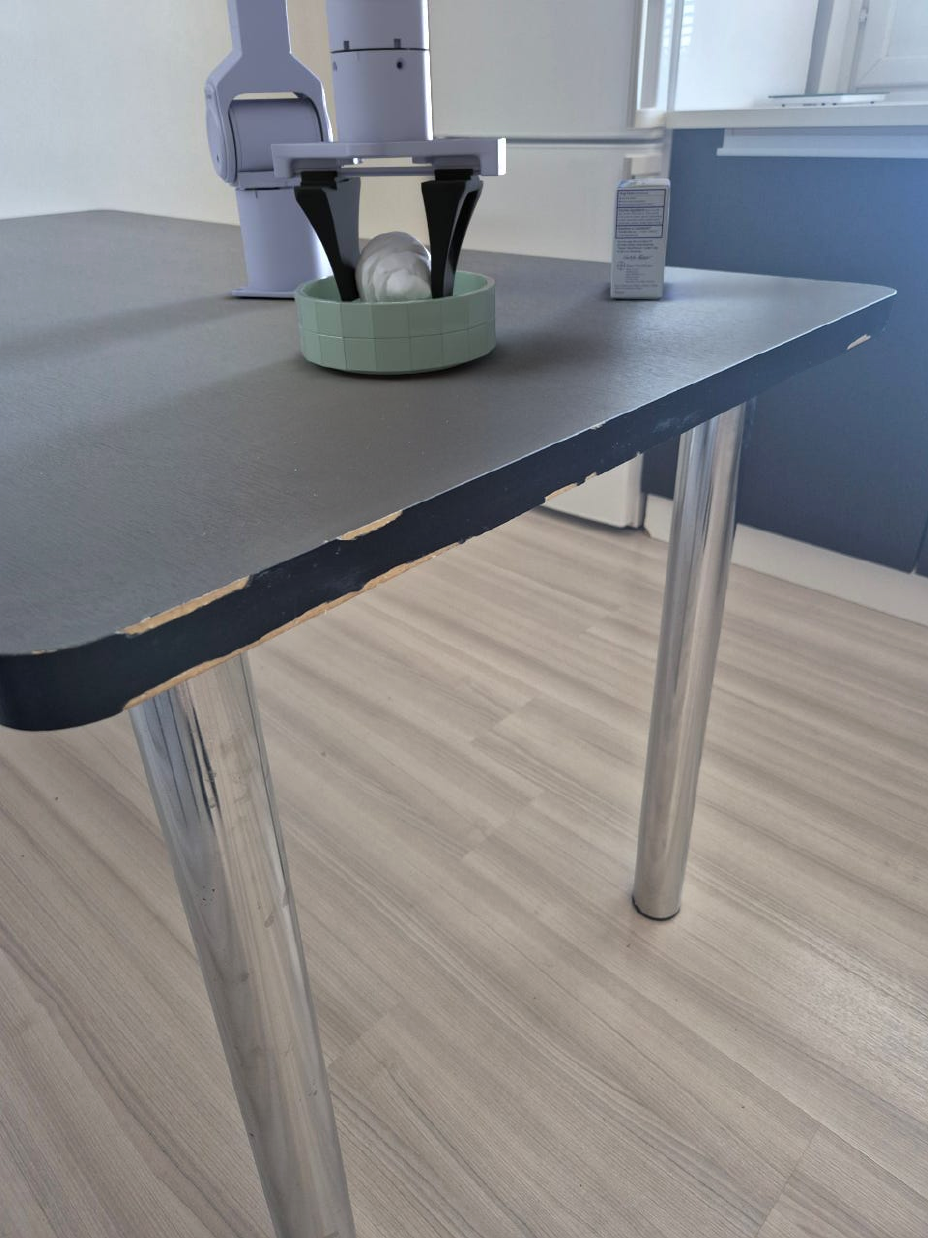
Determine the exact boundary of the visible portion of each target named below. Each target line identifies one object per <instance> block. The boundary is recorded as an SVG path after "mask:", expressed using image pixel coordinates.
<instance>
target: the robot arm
mask: <svg viewBox="0 0 928 1238" xmlns="http://www.w3.org/2000/svg"><path fill="white" fill-rule="evenodd" d="M324 1H325V12H326V23H327V35H328V44H329V46H328V47H329V53H330V56H329V57H330V65H331V78H332V89H333V98H334V110H335V123H336V132H337V133H336V134H337V140H335V141H333V132H332V125H331V121H330V117H329V114H328V111H327V105H326V96H325V88H324V86H323V83H322V81H321V80H320V78H319V76H317V75H316V74H315V73H314V72H313V71H312V70H311V69H310V68H309V67H307V65H305V64H304V63H303V62H301V61H300V60H299V59H298V58H297V57H295V56H294V54H292V47H291V38H290V27H289V17H288V5H287V0H226V6H227V7H226V8H227V14H228V23H229V30H230V38H231V46H232V49H231V51H230V52H229V53H228V55H227V56H225V58H224V59H223V60H221V62H219V64H218V65H217V66H215V68H214V69H213V70H212V71H211V72H210V73H209V75H208V76H207V78H206V80H205V82H204V83H205V86H204V89H203V93H204V101H205V126H206V128H205V129H206V137H207V143H208V149H209V154H210V158H211V161H212V166H213V168H214V171H215V173H216V175H217V176H218V177H219V178H221V180H222V181H223V182H224V183H225V184H228V185H229V187H233V188H235V189H234V193H235V200H236V207H237V213H238V219H239V227H240V232H241V233H240V234H241V239H242V246H243V252H244V253H243V254H244V260H245V266H246V272H247V280H248V284H246V285H244V286H240V287H238V288H235V289H231V296H232V297H251V298H284V299H285V298H287V299H288V298H289V299H290V298H291V299H295V297H294V290H295V289H296V288H297V286H298V285H300V284H303V283H305V282H308V281H310V280H313V279H318V278H322V277H326V276H331V275H334V277H335V281H336V284H337V287H338V290H339V294H340V297H341V301H343V302H352V301H354V300H356V299H358V298H360V296H359V293H358V291H357V287H356V280H355V270H356V265H357V262H358V259H359V256H360V254H361V250H360V240H359V239H360V237H359V236H360V233H359V232H360V231H359V229H360V228H359V225H360V200H361V188H362V187H361V186H362V179H361V178H366V177H367V178H368V177H374V178H375V177H376V178H377V177H434V179H430V180H427V181H426V180H425V181H422V182H420V191H421V195H422V200H423V206H424V212H425V219H426V223H427V230H428V232H427V233H428V239H429V240H428V241H429V247H430V248H429V249H430V251H429V252H430V255H431V292H432V299H437V298H443V297H449V296H453V288H454V281H455V275H456V270H458V264H459V259H460V255H461V251H462V247H463V244H464V240H465V237H466V234H467V230H468V228H469V225H470V222H471V221H472V217H473V215H474V212H475V210H476V207H477V205H478V202H479V201H480V198H481V196H482V192H483V189H484V183H485V182H484V180H481V178H480V176H481V177H498V176H502V175H506V173H507V171H506V170H507V169H506V168H507V165H506V162H507V161H506V157H507V156H506V155H507V153H506V151H507V149H506V148H507V147H506V145H507V144H506V143H507V142H506V137H466V138H465V137H460V138H458V137H457V138H456V137H455V138H454V137H453V138H433V118H432V117H433V115H432V94H431V93H432V92H431V91H432V90H431V68H430V65H431V64H430V37H429V17H428V16H429V15H428V13H429V12H428V0H324ZM271 93H272V94H273V93H277V94H278V93H292V94H293V95H295V96H296V97H283V98H282V97H281V98H280V97H279V98H243V99H242V98H241V99H237V98H236V97H238V96H239V95H244V94H271ZM401 158H402V159H403V158H411V162H412V164H413V166H362V167H361V166H357V167H355V166H354V165H359V164H363V163H364V162H363V161H364V160H366V159H368V160H369V159H371V160H372V159H401ZM429 164H431V165H429ZM414 165H417V166H414ZM421 165H423V166H421ZM424 165H425V166H424ZM426 165H427V166H426ZM345 166H354V167H345Z"/></svg>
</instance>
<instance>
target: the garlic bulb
mask: <svg viewBox="0 0 928 1238" xmlns="http://www.w3.org/2000/svg"><path fill="white" fill-rule="evenodd" d="M355 280H356V287H357V291H358V293H359V296H360V299H361V301H362V302H372V303H376V302H406V301H417V300H427V299H432V292H431V252H430V251H429V250H428V249H427V248H426V246H425V245H424V244H423V243H422V242H421V241H420V240H419V239H418V238H417V237H416V236H414V235H412V234H411V233H408V232H405V231H398V230H397V231H395V230H394V231H389V232H384V233H380V234H378V235H376V236H374V237H372V239H370V241H368V243H366V245H365V246H364V247H363V249H361V251H360V256H359V259H358V262H357V265H356V270H355Z"/></svg>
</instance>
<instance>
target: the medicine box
mask: <svg viewBox="0 0 928 1238" xmlns="http://www.w3.org/2000/svg"><path fill="white" fill-rule="evenodd" d="M670 201H671V180H670V179H669V178H633V179H626V180H622V181H620V183H619V184H618V186H617V188H615V191H614V201H613V217H612V219H613V220H612V243H611V265H610V298H611V299H618V300H661V298H663V293H664V283H665V281H664V280H665V267H666V256H667V255H666V253H667V241H668V229H669V216H670V204H671V203H670Z"/></svg>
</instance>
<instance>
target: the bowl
mask: <svg viewBox="0 0 928 1238" xmlns="http://www.w3.org/2000/svg"><path fill="white" fill-rule="evenodd" d="M494 279H495V278H493V277H490V276H488V275H485V274H483V273H479V272H473V271H468V270H461V269H460V270H459V269H456V275H455V281H454V288H453V296H449V297H443V298H437V299H427V300H417V301H406V302H376V303H372V302H362V301H361V299H360V298H358V299H356V300H354V301H352V302H343V301H341V297H340V294H339V290H338V287H337V284H336V281H335V277H334V275H331V276H326V277H322V278H318V279H313V280H310V281H308V282H305V283H303V284H300V285H298V286H297V288H296V289H295V290H294V297H295V298H294V304H295V312H296V321H297V329H298V335H299V337H298V338H299V344H300V351H301V354H302V355H303V357H304V358H305V360H306V361H308V362H310V363H313V364H316V365H318V366H321V367H324V368H331V369H334V370H336V371H337V370H338V371H342V372H346V373H353V374H360V375H376V376H393V375H394V376H395V375H411V374H414V375H415V374H422V373H429V372H430V373H431V372H436V371H442V370H445V369H451V368H453V367H457V366H460V365H463V364H465V363H468V362H471V361H474V360H476V359H479V358H481V357H483V356H486V355H489V354H490V352H492V351H493V350H494V349H495V348H496V344H497V343H496V341H497V339H496V283H495V280H494Z"/></svg>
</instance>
